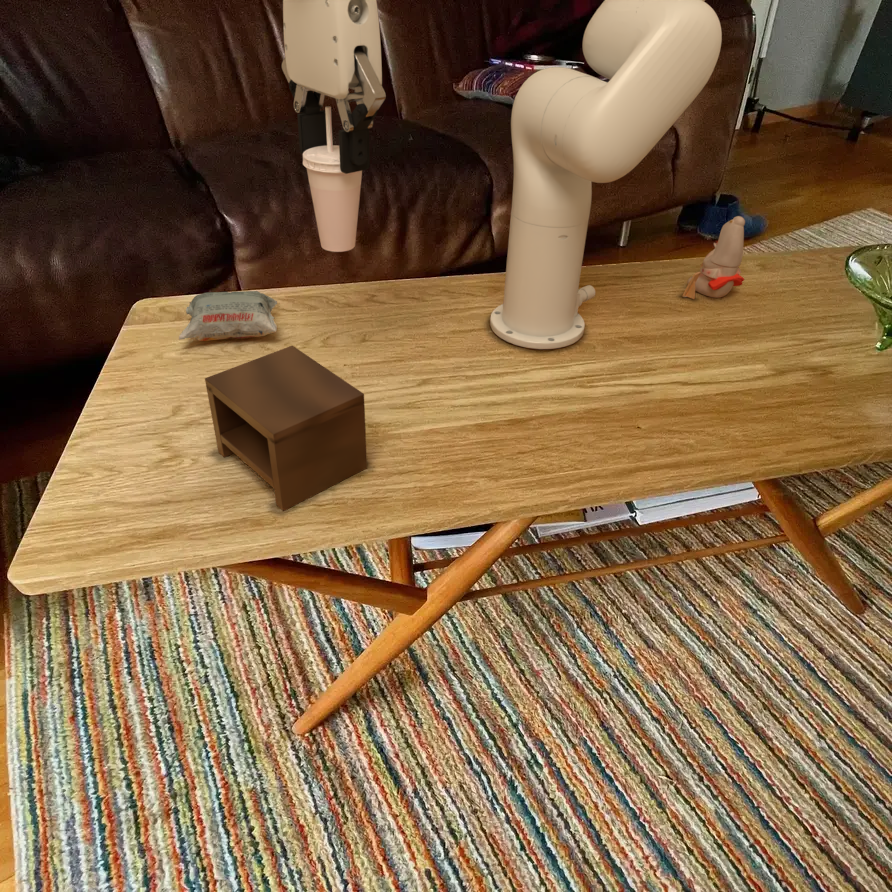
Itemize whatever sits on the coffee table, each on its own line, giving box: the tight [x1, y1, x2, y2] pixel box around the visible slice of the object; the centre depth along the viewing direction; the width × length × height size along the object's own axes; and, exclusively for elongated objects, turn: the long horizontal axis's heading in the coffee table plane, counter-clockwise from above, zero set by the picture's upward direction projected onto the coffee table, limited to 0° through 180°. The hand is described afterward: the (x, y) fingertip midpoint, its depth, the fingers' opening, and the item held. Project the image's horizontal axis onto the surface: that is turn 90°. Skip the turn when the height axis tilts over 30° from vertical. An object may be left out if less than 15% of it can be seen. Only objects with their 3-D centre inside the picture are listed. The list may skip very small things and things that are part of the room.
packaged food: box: [178, 290, 278, 342], centre depth 97 cm, size 9×12×5 cm
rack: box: [204, 345, 368, 512], centre depth 75 cm, size 10×12×9 cm
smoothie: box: [302, 105, 363, 253], centre depth 79 cm, size 6×6×14 cm
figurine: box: [681, 215, 746, 300], centre depth 109 cm, size 9×7×12 cm
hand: (334, 160), depth 77 cm, fingers closed on smoothie, 6 cm apart
